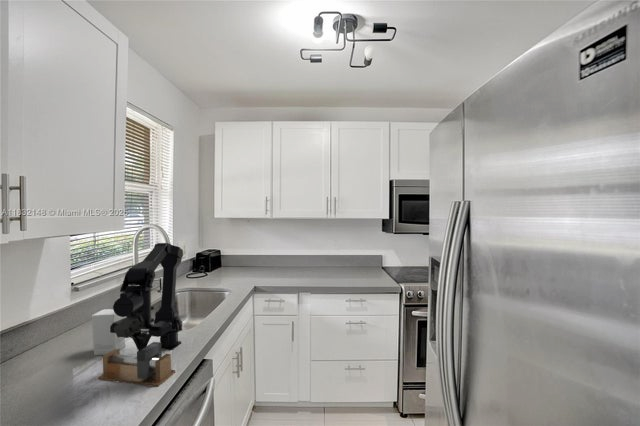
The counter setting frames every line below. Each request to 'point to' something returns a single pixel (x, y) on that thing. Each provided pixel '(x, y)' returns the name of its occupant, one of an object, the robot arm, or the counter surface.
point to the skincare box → (105, 332)
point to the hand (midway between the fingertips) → (141, 352)
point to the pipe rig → (134, 369)
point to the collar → (147, 359)
